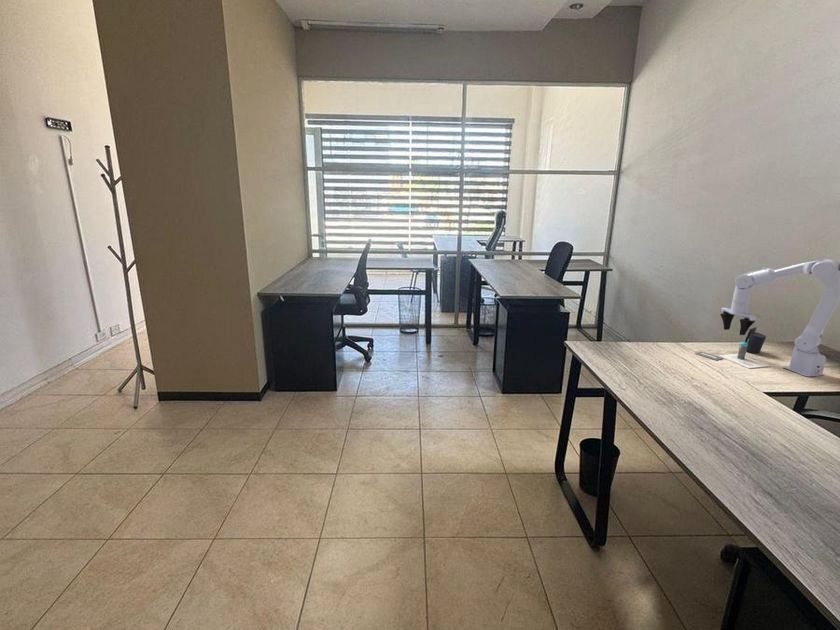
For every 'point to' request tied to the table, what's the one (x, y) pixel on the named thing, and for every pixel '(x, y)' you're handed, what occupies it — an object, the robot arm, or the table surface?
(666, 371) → the table surface
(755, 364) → the paper
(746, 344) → the marker
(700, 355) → the plate
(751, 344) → the speaker
